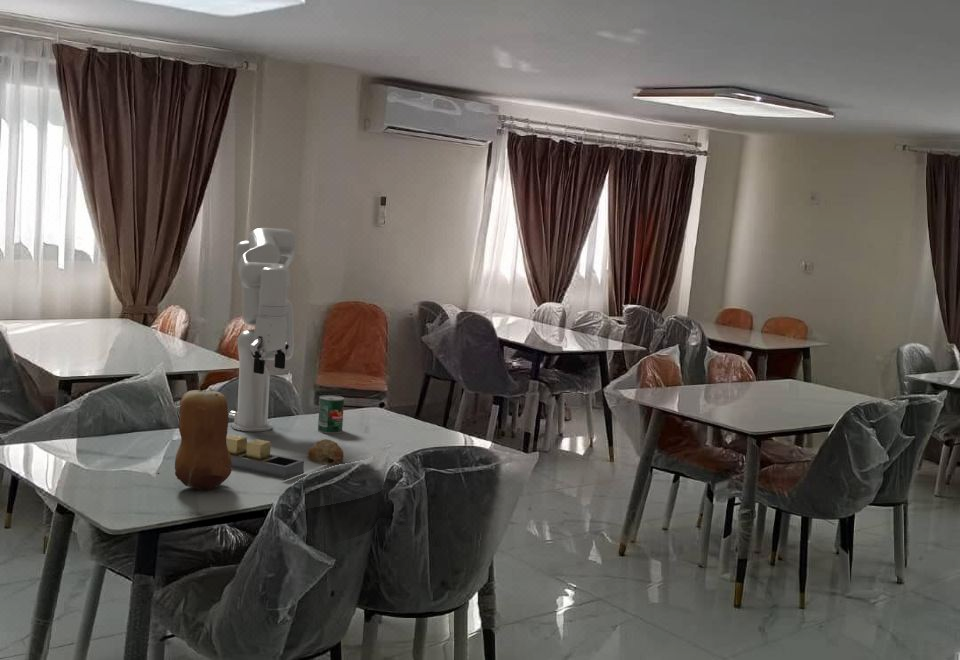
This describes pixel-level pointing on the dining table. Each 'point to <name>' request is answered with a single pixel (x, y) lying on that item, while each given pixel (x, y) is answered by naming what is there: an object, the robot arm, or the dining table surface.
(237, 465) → the grey compartment tray
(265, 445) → the tan cubic block
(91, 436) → the dining table surface
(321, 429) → the canned tomato
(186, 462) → the butternut squash
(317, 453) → the bread roll
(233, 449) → the khaki cardboard box
